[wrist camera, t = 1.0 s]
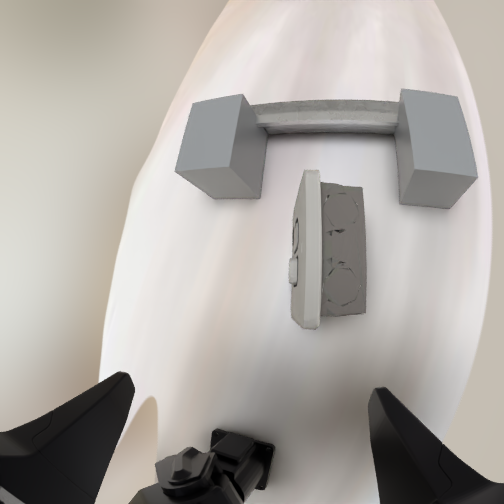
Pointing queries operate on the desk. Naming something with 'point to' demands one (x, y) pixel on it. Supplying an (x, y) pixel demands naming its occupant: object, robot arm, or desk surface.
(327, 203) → the electrical switch
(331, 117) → the rail
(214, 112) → the mounted modules
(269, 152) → the desk surface
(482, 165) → the desk surface
